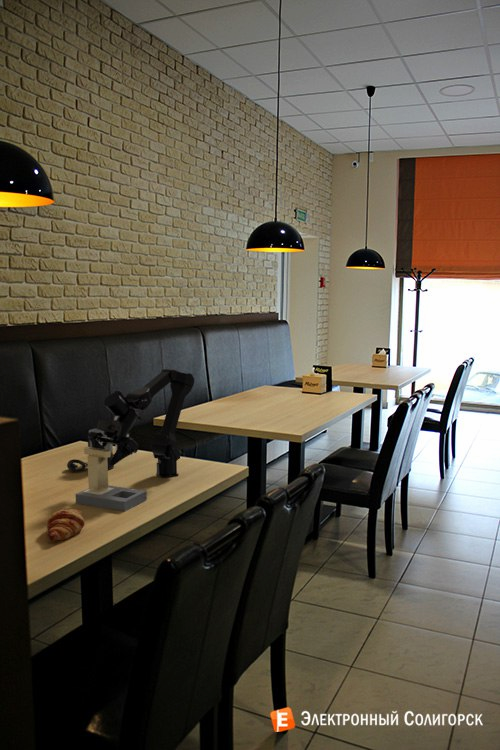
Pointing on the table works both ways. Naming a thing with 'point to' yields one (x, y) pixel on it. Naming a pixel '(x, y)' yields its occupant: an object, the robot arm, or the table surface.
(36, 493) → the table surface
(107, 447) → the milk frother
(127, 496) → the board
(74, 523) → the croissant
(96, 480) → the t key
